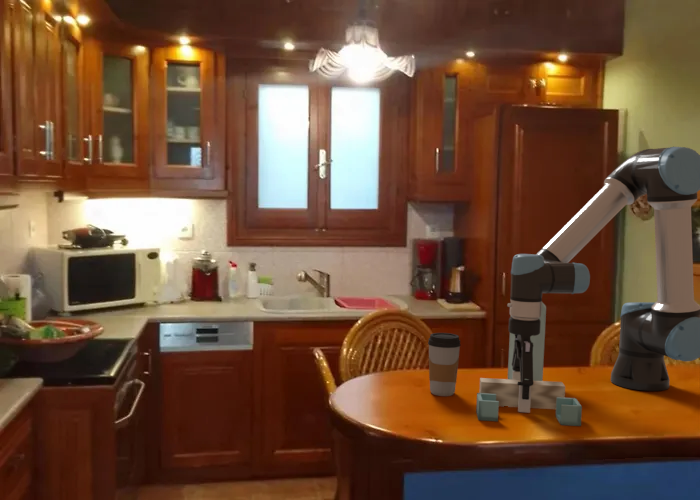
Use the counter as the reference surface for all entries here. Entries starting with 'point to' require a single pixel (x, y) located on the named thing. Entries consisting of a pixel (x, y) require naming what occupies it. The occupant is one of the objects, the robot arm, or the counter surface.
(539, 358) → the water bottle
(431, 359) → the coffee cup
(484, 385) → the slat
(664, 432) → the counter surface
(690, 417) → the counter surface
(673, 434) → the counter surface
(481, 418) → the end caps
